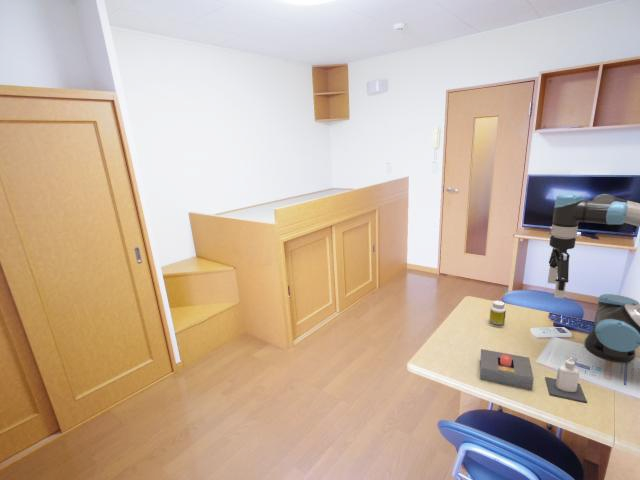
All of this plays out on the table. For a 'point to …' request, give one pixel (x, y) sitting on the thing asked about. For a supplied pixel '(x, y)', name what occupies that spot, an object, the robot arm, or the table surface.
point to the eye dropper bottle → (567, 377)
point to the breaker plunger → (505, 360)
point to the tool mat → (563, 394)
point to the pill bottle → (497, 314)
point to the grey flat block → (506, 370)
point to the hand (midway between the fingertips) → (555, 290)
